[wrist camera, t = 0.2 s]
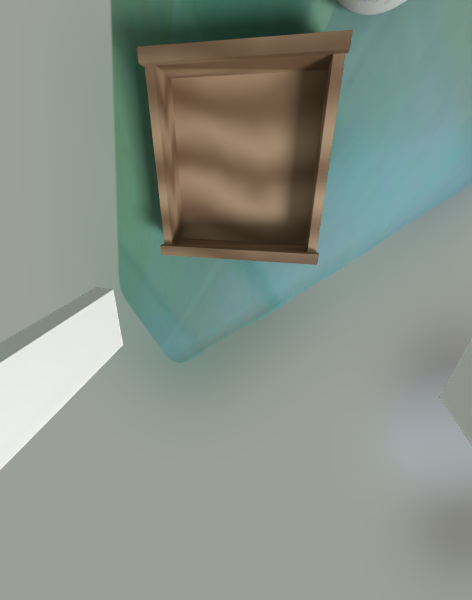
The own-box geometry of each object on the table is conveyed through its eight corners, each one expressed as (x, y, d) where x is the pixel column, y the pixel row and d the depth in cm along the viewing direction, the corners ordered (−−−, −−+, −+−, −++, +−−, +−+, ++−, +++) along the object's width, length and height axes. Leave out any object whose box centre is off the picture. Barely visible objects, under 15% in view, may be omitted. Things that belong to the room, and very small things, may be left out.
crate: (163, 69, 30) (136, 46, 24) (340, 58, 26) (352, 29, 21) (178, 244, 38) (161, 254, 33) (313, 251, 35) (317, 264, 30)
